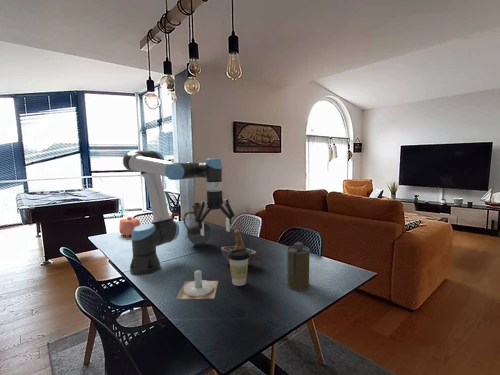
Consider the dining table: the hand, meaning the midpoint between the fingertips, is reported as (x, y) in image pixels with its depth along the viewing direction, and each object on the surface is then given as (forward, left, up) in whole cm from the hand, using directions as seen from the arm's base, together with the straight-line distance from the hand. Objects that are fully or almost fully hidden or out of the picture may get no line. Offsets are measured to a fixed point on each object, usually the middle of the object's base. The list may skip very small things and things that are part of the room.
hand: (215, 233), depth 130 cm
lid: (-6, -15, -22) cm, 27 cm away
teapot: (-76, +74, -22) cm, 109 cm away
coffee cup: (+12, -9, -22) cm, 26 cm away
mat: (-6, -15, -22) cm, 27 cm away
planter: (+11, +13, -22) cm, 28 cm away
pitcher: (-18, +45, -22) cm, 54 cm away
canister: (+39, -12, -22) cm, 46 cm away
